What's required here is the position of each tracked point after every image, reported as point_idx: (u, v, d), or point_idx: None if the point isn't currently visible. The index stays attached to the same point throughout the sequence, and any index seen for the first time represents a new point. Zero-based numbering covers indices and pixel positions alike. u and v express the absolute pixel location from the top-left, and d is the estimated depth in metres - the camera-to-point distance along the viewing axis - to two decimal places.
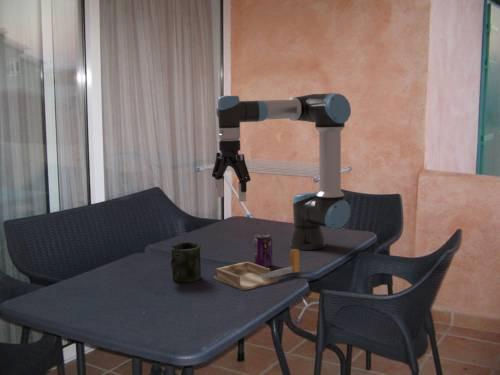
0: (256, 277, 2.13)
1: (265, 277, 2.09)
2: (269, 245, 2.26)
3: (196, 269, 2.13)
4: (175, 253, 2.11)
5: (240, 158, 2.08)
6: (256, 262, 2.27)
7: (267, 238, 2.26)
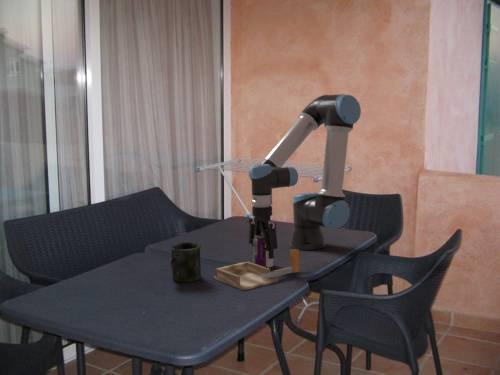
0: (256, 277, 2.13)
1: (265, 277, 2.09)
2: None
3: (196, 269, 2.13)
4: (175, 253, 2.11)
5: (272, 227, 2.22)
6: (256, 262, 2.27)
7: None
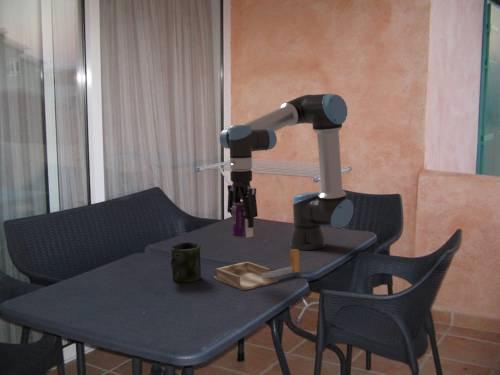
0: (256, 277, 2.13)
1: (265, 277, 2.09)
2: None
3: (196, 269, 2.13)
4: (175, 253, 2.11)
5: (251, 193, 2.03)
6: (234, 231, 2.08)
7: None
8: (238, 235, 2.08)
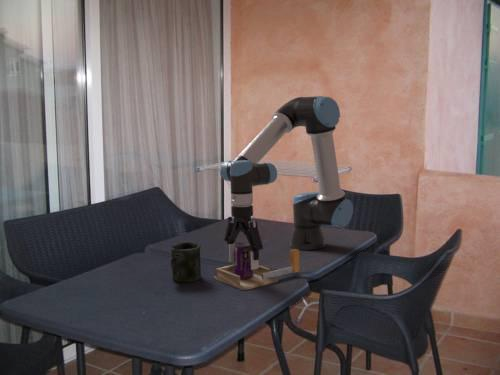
0: (256, 277, 2.13)
1: (265, 277, 2.09)
2: (250, 255, 2.09)
3: (196, 269, 2.13)
4: (175, 253, 2.11)
5: (253, 226, 2.05)
6: (236, 273, 2.11)
7: (247, 247, 2.09)
8: None
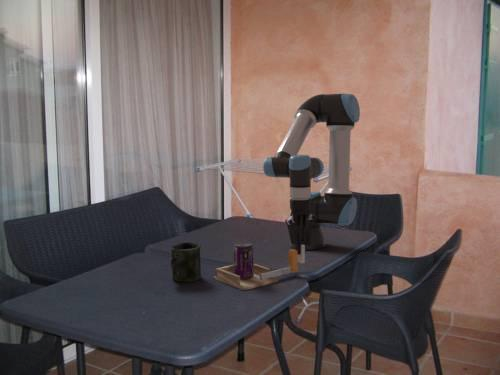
0: (256, 277, 2.13)
1: (263, 277, 2.08)
2: (250, 255, 2.09)
3: (196, 269, 2.13)
4: (175, 253, 2.11)
5: (287, 223, 2.14)
6: (236, 273, 2.11)
7: (247, 247, 2.09)
8: None
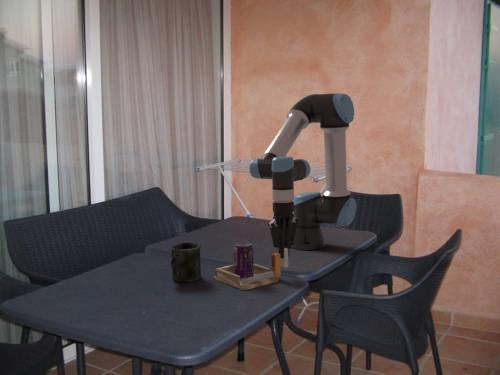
0: None
1: (245, 282, 2.03)
2: (250, 255, 2.09)
3: (196, 269, 2.13)
4: (175, 253, 2.11)
5: (270, 226, 2.09)
6: (236, 273, 2.11)
7: (248, 247, 2.09)
8: None
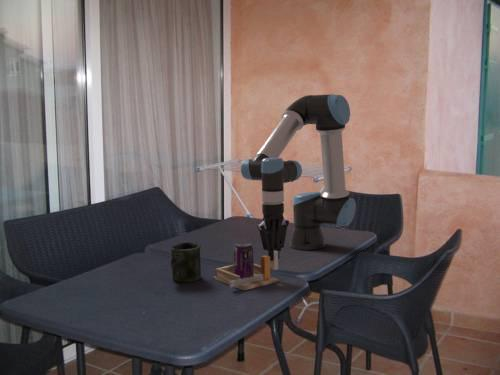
0: None
1: (233, 285, 2.01)
2: (250, 255, 2.09)
3: (196, 269, 2.13)
4: (175, 253, 2.11)
5: (259, 229, 2.06)
6: (236, 273, 2.11)
7: (247, 247, 2.09)
8: None
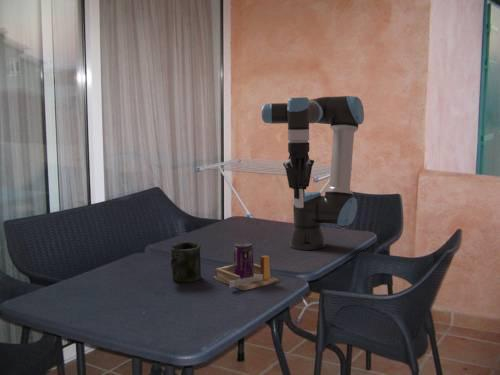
0: None
1: (233, 285, 2.01)
2: (250, 255, 2.09)
3: (196, 269, 2.13)
4: (175, 253, 2.11)
5: (285, 166, 2.11)
6: (236, 273, 2.11)
7: (247, 247, 2.09)
8: None
